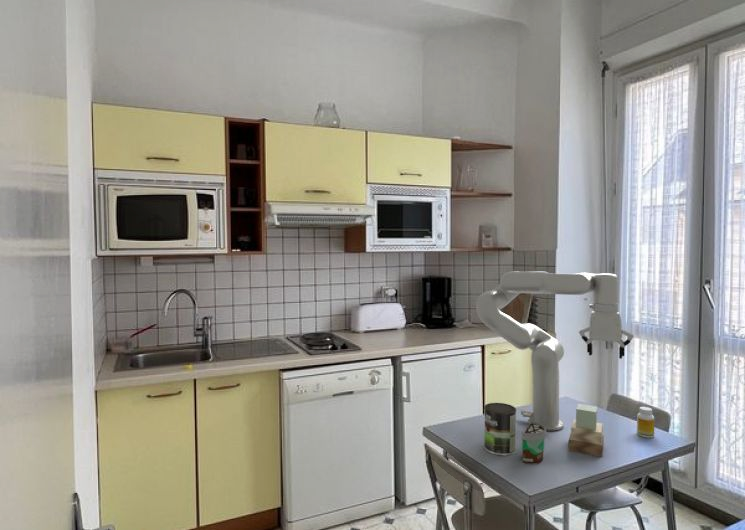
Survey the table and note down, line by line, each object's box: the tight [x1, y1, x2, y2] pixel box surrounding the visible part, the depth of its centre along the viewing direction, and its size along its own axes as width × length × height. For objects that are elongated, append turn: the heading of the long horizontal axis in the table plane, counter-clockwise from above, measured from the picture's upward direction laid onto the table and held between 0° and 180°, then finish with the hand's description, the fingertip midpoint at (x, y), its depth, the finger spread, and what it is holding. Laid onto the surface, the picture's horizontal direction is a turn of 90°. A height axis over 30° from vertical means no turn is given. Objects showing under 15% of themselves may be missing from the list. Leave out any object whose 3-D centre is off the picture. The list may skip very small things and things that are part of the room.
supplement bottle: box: [636, 406, 655, 439], centre depth 164 cm, size 5×5×10 cm
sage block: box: [575, 403, 598, 430], centre depth 153 cm, size 6×6×6 cm
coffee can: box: [483, 402, 517, 457], centre depth 153 cm, size 10×10×14 cm
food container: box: [521, 421, 548, 465], centre depth 145 cm, size 12×6×10 cm, turn 148°
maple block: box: [570, 418, 604, 445], centre depth 154 cm, size 9×9×4 cm
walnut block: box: [568, 433, 605, 457], centre depth 154 cm, size 10×10×4 cm
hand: (605, 356), depth 162 cm, fingers open, 9 cm apart
